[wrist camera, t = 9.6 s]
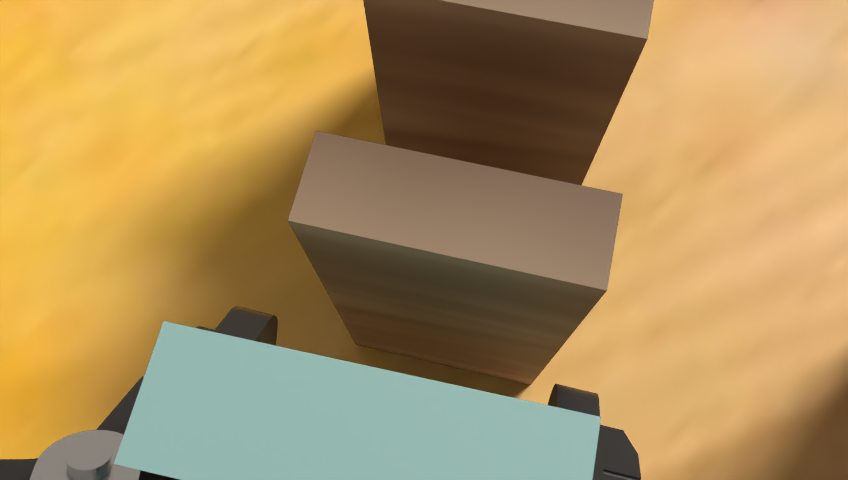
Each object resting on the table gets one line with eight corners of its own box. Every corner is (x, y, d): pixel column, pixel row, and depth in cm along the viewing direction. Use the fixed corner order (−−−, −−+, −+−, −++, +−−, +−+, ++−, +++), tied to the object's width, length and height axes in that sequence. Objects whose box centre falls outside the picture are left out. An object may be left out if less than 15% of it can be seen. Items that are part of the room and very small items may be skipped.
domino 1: (558, 234, 22) (647, 38, 13) (394, 200, 23) (361, -15, 13) (568, 186, 23) (659, -38, 13) (407, 152, 23) (383, -87, 14)
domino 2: (530, 385, 21) (606, 290, 11) (356, 344, 21) (287, 220, 12) (541, 329, 21) (622, 193, 12) (370, 290, 22) (316, 130, 12)
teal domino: (500, 541, 17) (579, 575, 8) (288, 492, 17) (113, 463, 8) (513, 469, 17) (600, 416, 8) (307, 422, 18) (163, 321, 9)
